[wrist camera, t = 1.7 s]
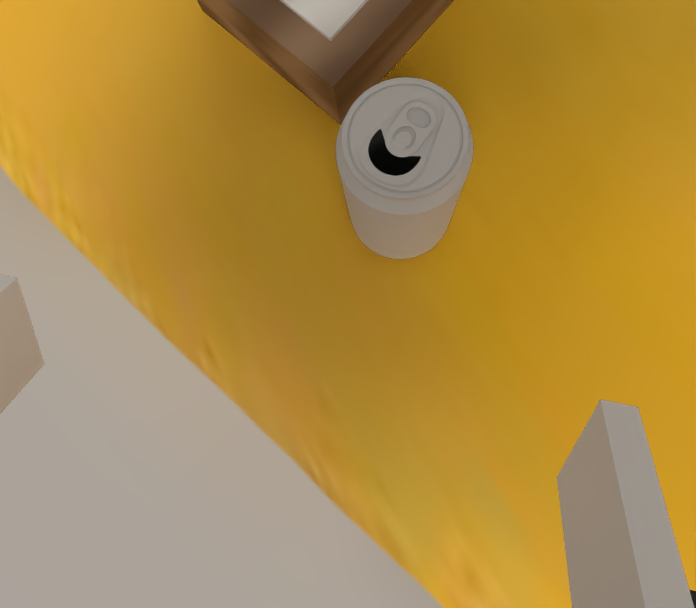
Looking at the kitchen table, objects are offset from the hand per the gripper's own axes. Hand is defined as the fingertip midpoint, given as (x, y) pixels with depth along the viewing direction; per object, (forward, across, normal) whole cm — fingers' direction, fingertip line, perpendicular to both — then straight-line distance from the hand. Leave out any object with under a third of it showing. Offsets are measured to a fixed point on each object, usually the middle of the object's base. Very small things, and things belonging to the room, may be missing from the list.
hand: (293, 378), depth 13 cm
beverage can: (+24, +1, -9) cm, 26 cm away
